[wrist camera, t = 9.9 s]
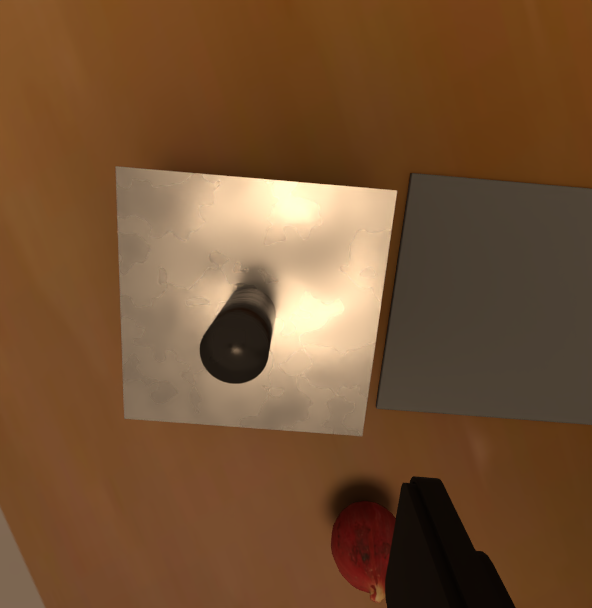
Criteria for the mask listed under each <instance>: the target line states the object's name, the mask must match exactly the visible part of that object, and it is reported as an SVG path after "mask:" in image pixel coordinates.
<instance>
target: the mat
mask: <svg viewBox="0 0 592 608" xmlns="http://www.w3.org/2000/svg"><path fill="white" fill-rule="evenodd" d="M376 408H377V409H390V410H403V411H416V412H430V413H443V414H456V415H469V416H483V417H496V418H509V419H523V420H536V421H549V422H562V423H576V424H589V425H592V189H588V188H577V187H565V186H554V185H542V184H531V183H519V182H508V181H496V180H485V179H473V178H461V177H450V176H438V175H427V174H415V173H411V174H410V181H409V188H408V195H407V201H406V208H405V215H404V221H403V228H402V235H401V241H400V248H399V255H398V261H397V268H396V275H395V282H394V288H393V295H392V302H391V308H390V315H389V322H388V328H387V335H386V342H385V348H384V355H383V362H382V368H381V375H380V382H379V389H378V395H377V402H376Z"/></svg>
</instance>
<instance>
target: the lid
mask: <svg viewBox="0 0 592 608" xmlns="http://www.w3.org/2000/svg"><path fill="white" fill-rule="evenodd" d="M116 190H117V220H118V249H119V278H120V307H121V336H122V365H123V395H124V419H138V420H151V421H165V422H178V423H192V424H205V425H219V426H232V427H246V428H259V429H273V430H287V431H300V432H314V433H327V434H341V435H354V436H362V434H363V427H364V420H365V413H366V406H367V399H368V392H369V385H370V378H371V371H372V364H373V357H374V350H375V343H376V336H377V329H378V322H379V315H380V308H381V301H382V294H383V287H384V280H385V273H386V266H387V259H388V251H389V244H390V237H391V230H392V223H393V216H394V209H395V202H396V195H397V191H396V190H384V189H373V188H361V187H349V186H338V185H326V184H314V183H303V182H291V181H279V180H268V179H256V178H244V177H233V176H221V175H209V174H198V173H186V172H174V171H163V170H151V169H139V168H128V167H116Z"/></svg>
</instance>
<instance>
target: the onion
mask: <svg viewBox="0 0 592 608" xmlns="http://www.w3.org/2000/svg"><path fill="white" fill-rule="evenodd" d="M395 521H396V518H395V517H394V516H393V514H392V513H391V512H390V511H388V510H387V509H386V508H384V507H383V506H381V505H379V504H377V503H374V502H368V501H361V502H356V503H352V504H350V505H349V506H348V507H346V508H345V509H344V510H342V512H341V513H340V515H339V516H338V518H337V520H336V522H335V523H334V525H333V530H332V538H331V550H332V555H333V557H334V560H335V562H336V564H337V567H338V569H339V571H340V573H341V574H342V576H343V577H344V578H345V579H346V580H347V581H348V582H349V583H350V584H351V585H352V586H354V587H355V588H357V589H359V590H361V591H364V592H367V593H370V599H371V600H372V601H374V602H377V603H381V601H382V599H384V598H385V578H386V572H387V566H388V561H389V555H390V549H391V543H392V538H393V532H394V526H395Z"/></svg>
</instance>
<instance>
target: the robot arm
mask: <svg viewBox="0 0 592 608" xmlns="http://www.w3.org/2000/svg"><path fill="white" fill-rule="evenodd" d="M385 597H386V603H387V608H516V607H515V606H514V604H513V602H512V600H511V598H510V596H509V594H508V592H507V590H506V588H505V586H504V584H503V582H502V580H501V578H500V577H499V575H498V573H497V571H496V569H495V567H494V565H493V563H492V562H491V560H490V558H489V557H488V555H486V554H485V553H484V552H482V551H475V549H474V547H473V545H472V543H471V540H470V538H469V536H468V534H467V532H466V530H465V528H464V526H463V524H462V522H461V520H460V518H459V516H458V514H457V512H456V510H455V508H454V506H453V503H452V501H451V499H450V497H449V495H448V493H447V491H446V489H445V487H444V485H443V483H442V481H441V480H440V479H438V478H426V477H415V476H414V477H412V478H411V480H410V483H403V484H402V487H401V492H400V498H399V504H398V509H397V515H396V521H395V526H394V532H393V538H392V543H391V549H390V555H389V561H388V566H387V572H386V578H385Z"/></svg>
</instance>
